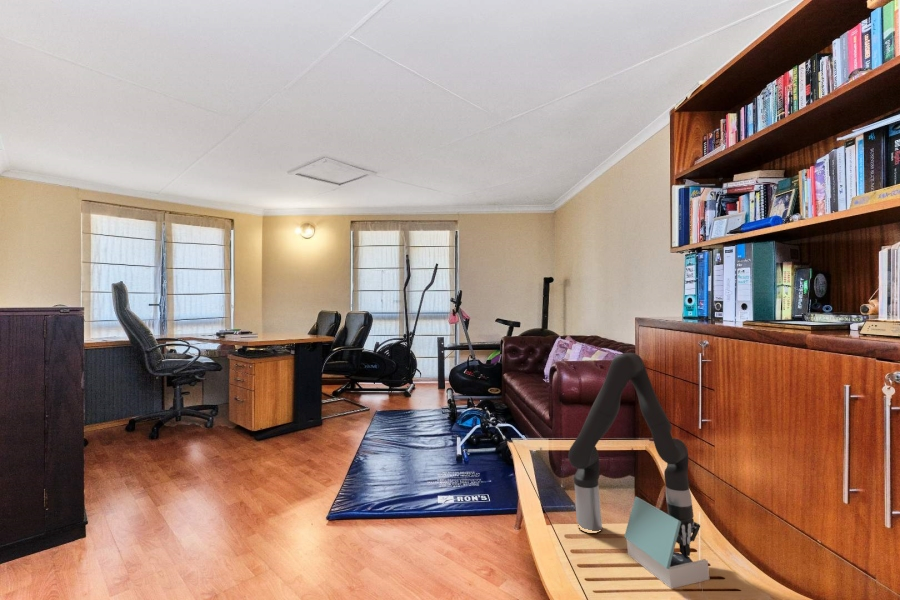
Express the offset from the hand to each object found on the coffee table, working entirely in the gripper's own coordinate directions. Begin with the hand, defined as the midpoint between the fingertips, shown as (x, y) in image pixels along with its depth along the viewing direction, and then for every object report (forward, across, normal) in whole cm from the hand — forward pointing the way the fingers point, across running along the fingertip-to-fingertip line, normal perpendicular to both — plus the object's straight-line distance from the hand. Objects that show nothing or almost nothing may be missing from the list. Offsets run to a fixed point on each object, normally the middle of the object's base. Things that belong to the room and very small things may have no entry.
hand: (685, 555), depth 131 cm
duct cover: (-10, +11, 0) cm, 15 cm away
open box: (+2, +7, -1) cm, 8 cm away
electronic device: (+3, +6, 0) cm, 7 cm away
